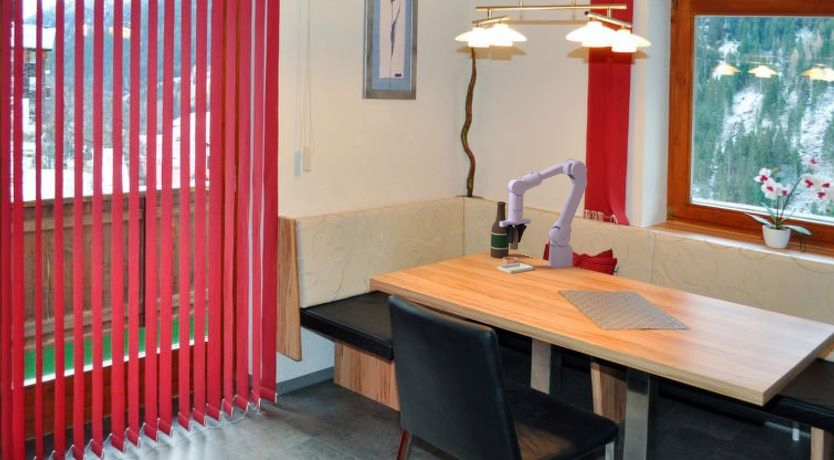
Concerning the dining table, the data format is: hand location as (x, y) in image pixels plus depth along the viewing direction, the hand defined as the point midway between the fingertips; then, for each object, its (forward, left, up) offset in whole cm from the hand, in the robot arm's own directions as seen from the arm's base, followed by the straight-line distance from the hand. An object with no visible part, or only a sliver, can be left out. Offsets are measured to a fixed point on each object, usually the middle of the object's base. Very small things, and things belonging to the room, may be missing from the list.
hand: (514, 242), depth 357 cm
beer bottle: (-7, -17, -11) cm, 21 cm away
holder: (-3, -5, -10) cm, 12 cm away
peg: (0, 0, -2) cm, 3 cm away
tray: (+2, +4, -10) cm, 11 cm away
